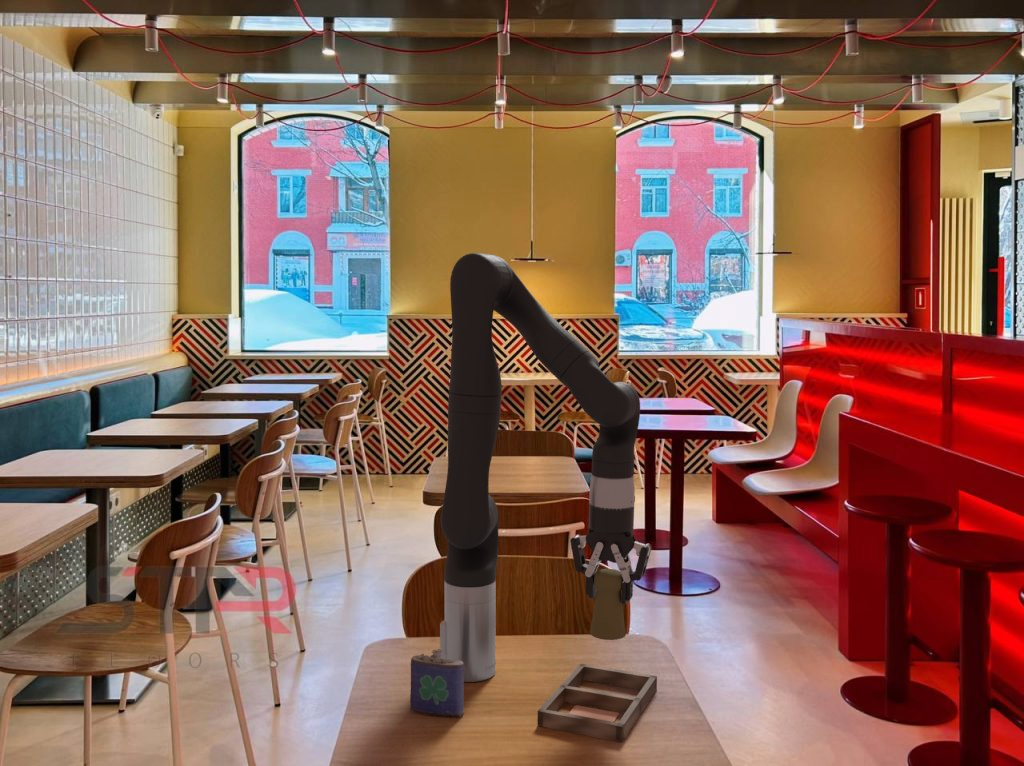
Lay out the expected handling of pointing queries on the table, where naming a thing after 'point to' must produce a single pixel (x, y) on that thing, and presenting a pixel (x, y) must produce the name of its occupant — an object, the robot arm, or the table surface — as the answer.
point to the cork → (608, 606)
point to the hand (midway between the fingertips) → (608, 599)
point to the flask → (437, 686)
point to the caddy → (598, 703)
